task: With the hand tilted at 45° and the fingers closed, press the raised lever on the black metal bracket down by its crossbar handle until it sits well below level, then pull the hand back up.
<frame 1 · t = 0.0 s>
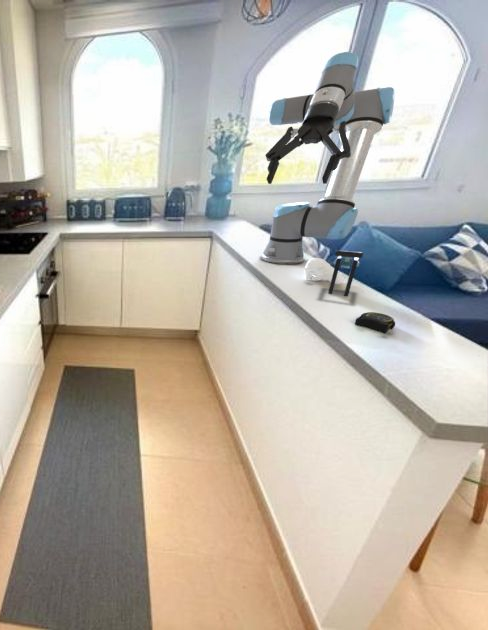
hand: (295, 181, 95), 36 cm above the table, tool tilted 35°, fingers open, 13 cm apart
white lumpy piece: (322, 284, 120), on the table
bracket: (337, 296, 109), on the table
lever: (347, 259, 100), point 13 cm above the table, hinge at 28.0°
tape measure: (373, 331, 89), on the table
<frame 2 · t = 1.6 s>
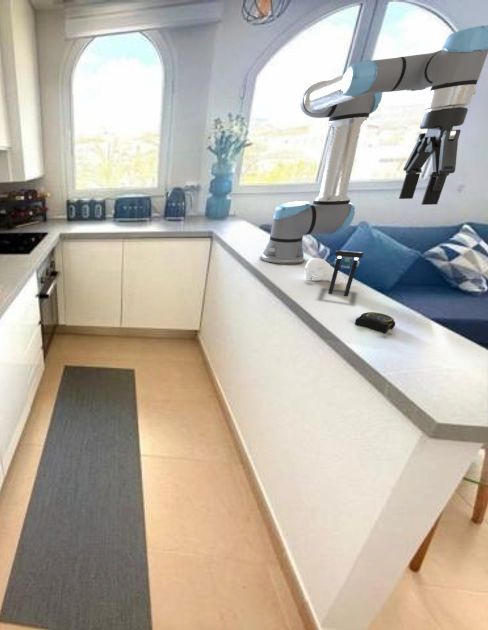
hand: (416, 201, 91), 29 cm above the table, tool pointing down, fingers open, 13 cm apart
nothing on the table moved.
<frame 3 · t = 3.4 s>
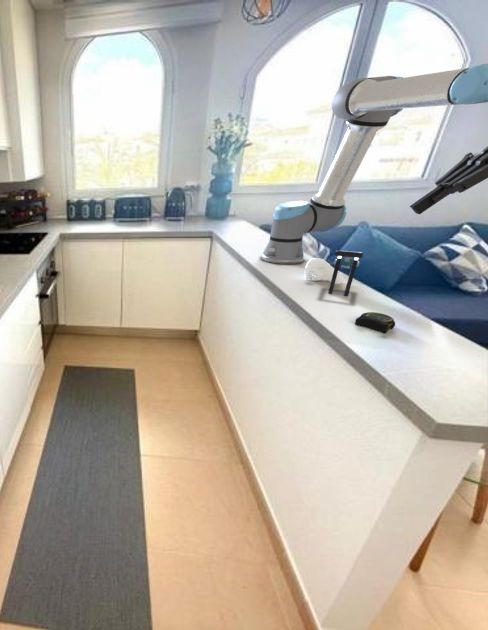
hand: (414, 210, 88), 28 cm above the table, tool tilted 45°, fingers closed
nothing on the table moved.
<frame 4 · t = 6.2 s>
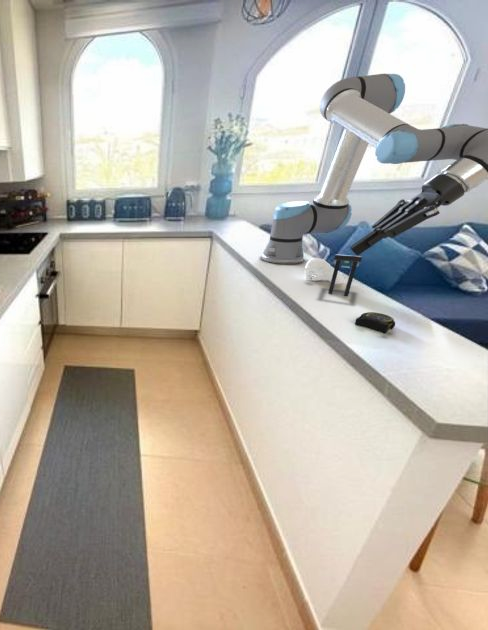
hand: (353, 251, 95), 17 cm above the table, tool tilted 45°, fingers closed
lever: (347, 260, 100), point 13 cm above the table, hinge at 22.0°, touching gripper
everything else where it was.
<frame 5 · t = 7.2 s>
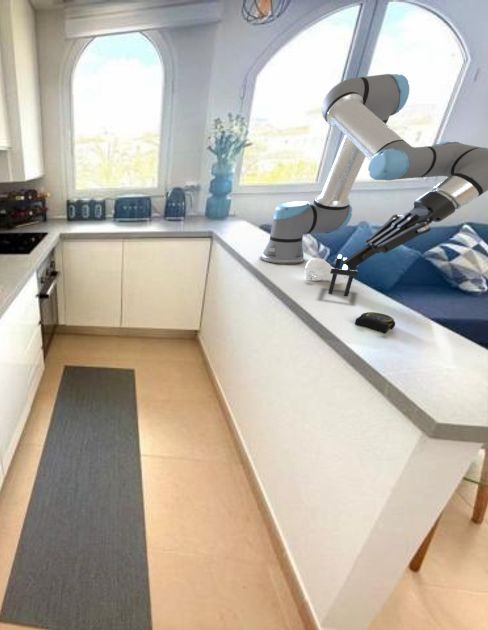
hand: (347, 265, 96), 13 cm above the table, tool tilted 45°, fingers closed
lever: (345, 267, 101), point 11 cm above the table, hinge at 1.3°, touching gripper
everything else where it was.
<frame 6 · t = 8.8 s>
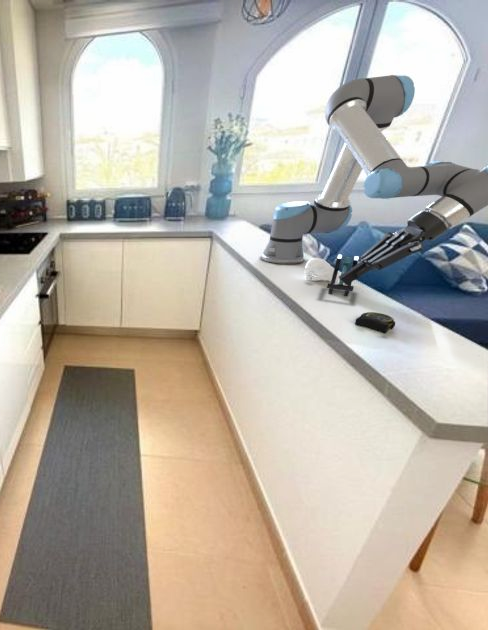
hand: (342, 281, 98), 8 cm above the table, tool tilted 45°, fingers closed
lever: (343, 274, 102), point 9 cm above the table, hinge at -24.5°, touching gripper
everything else where it was.
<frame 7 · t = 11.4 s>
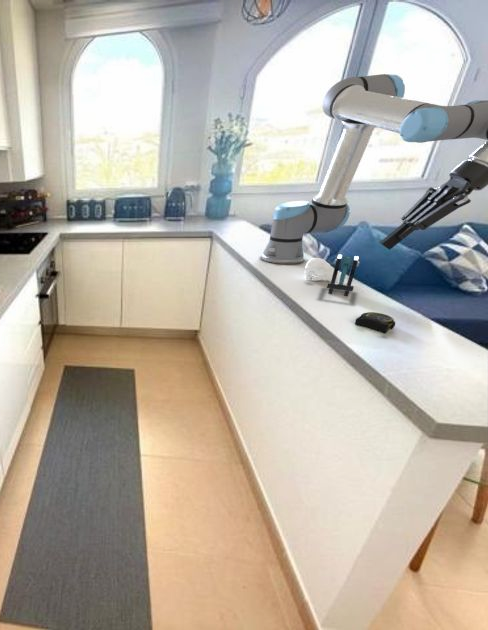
hand: (384, 246, 94), 18 cm above the table, tool tilted 35°, fingers closed
lever: (343, 274, 102), point 9 cm above the table, hinge at -24.5°
everything else where it was.
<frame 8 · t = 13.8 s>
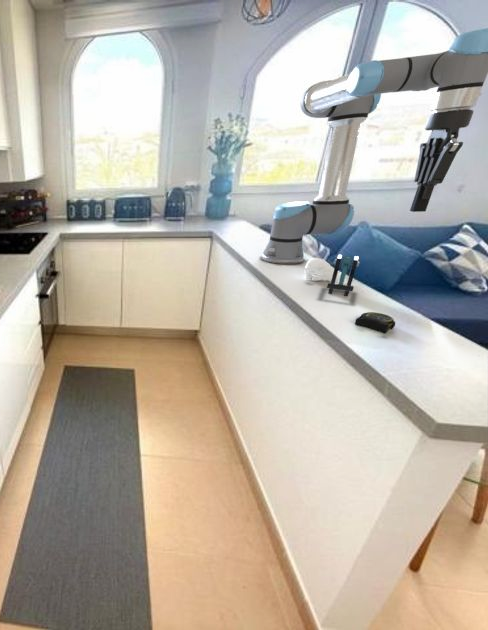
hand: (417, 211, 93), 26 cm above the table, tool pointing down, fingers closed
nothing on the table moved.
at the end: lever at -24° (first picture: +28°); white lumpy piece moved 0.2 cm from its start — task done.
